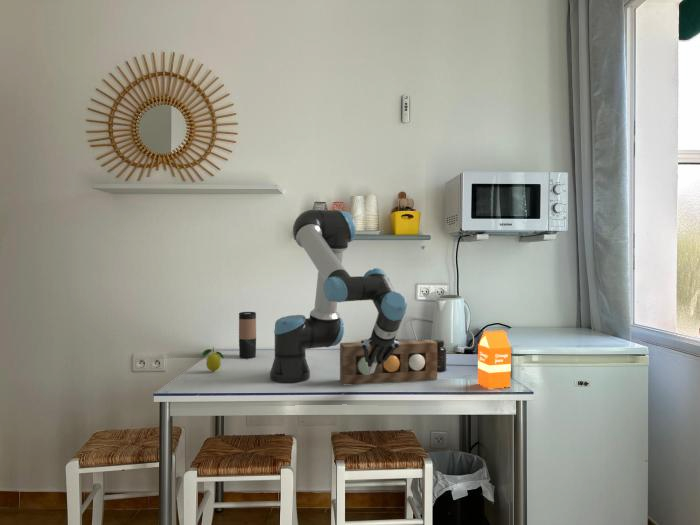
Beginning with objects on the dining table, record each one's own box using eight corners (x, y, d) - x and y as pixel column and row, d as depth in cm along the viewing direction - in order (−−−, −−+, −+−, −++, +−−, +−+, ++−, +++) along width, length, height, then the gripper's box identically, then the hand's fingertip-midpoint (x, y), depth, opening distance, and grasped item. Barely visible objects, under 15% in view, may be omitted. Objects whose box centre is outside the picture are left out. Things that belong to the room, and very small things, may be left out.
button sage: (359, 375, 184) (359, 358, 184) (357, 373, 187) (357, 357, 187) (375, 374, 186) (375, 358, 185) (373, 372, 188) (373, 356, 188)
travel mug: (258, 355, 235) (258, 311, 234) (253, 359, 228) (253, 314, 227) (242, 354, 236) (241, 311, 235) (236, 358, 228) (236, 313, 228)
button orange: (384, 372, 189) (384, 356, 189) (381, 370, 192) (381, 354, 192) (399, 371, 190) (399, 355, 190) (397, 369, 193) (397, 353, 193)
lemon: (201, 372, 203) (201, 347, 203) (212, 369, 208) (211, 344, 208) (214, 374, 200) (214, 349, 200) (224, 371, 205) (224, 346, 205)
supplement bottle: (428, 367, 213) (428, 339, 212) (444, 368, 212) (445, 339, 212) (430, 372, 206) (430, 342, 205) (447, 372, 205) (447, 342, 205)
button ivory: (409, 370, 191) (409, 354, 191) (407, 369, 194) (407, 353, 194) (425, 370, 192) (425, 354, 192) (422, 368, 195) (422, 352, 195)
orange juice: (510, 387, 184) (511, 332, 183) (488, 389, 181) (489, 333, 180) (498, 382, 191) (499, 328, 190) (477, 383, 188) (477, 329, 188)
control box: (343, 384, 186) (343, 346, 186) (339, 379, 193) (340, 342, 193) (437, 379, 194) (437, 342, 194) (430, 375, 201) (430, 339, 200)
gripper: (367, 341, 160) (354, 380, 177) (407, 339, 163) (390, 378, 179) (363, 321, 165) (351, 361, 182) (401, 320, 168) (386, 359, 184)
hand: (370, 369), depth 180 cm, fingers closed
